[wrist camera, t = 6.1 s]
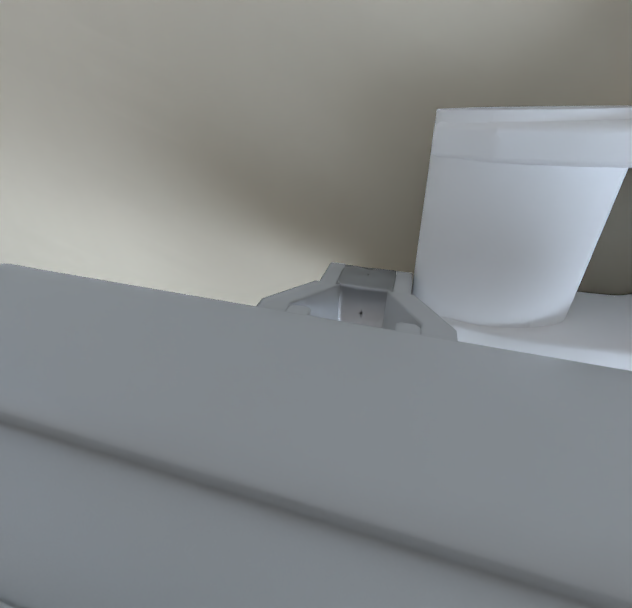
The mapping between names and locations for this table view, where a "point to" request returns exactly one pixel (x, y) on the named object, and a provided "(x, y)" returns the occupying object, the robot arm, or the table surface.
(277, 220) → the table surface
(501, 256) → the knuckle duster
